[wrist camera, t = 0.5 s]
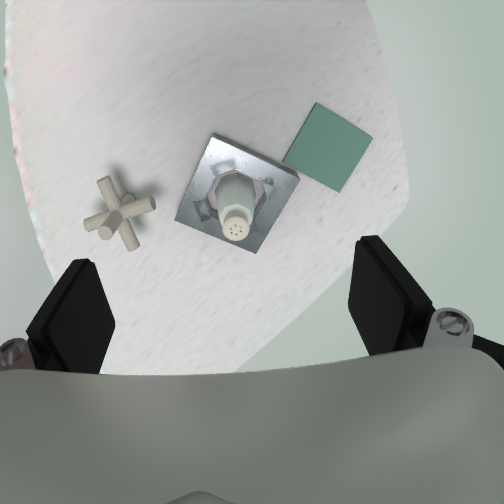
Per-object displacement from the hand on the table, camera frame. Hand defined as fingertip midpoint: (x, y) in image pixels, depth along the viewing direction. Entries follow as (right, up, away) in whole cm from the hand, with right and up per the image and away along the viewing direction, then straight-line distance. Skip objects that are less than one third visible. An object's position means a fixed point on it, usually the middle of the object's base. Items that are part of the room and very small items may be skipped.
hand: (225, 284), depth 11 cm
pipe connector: (-16, +8, +31) cm, 36 cm away
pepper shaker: (-1, +9, +31) cm, 33 cm away
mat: (+11, +15, +29) cm, 34 cm away
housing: (-1, +9, +31) cm, 33 cm away
